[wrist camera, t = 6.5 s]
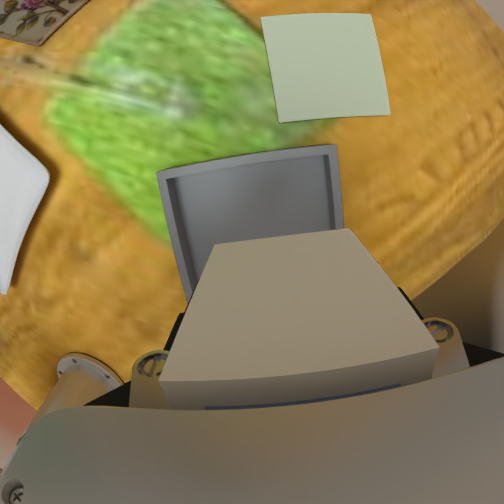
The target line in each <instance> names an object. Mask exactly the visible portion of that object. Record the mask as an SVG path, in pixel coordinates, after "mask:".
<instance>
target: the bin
mask: <svg viewBox="0 0 504 504" xmlns="http://www.w3.org/2000/svg"><path fill="white" fill-rule="evenodd" d="M156 175H157V180H158V185H159V189H160V194H161V199H162V203H163V208H164V212H165V217H166V221H167V225H168V230H169V234H170V238H171V242H172V246H173V250H174V254H175V258H176V262H177V266H178V270H179V274H180V277H181V281H182V285H183V289H184V292H185V296H186V299H187V303H189V300H190V298H191V295H192V293H193V291H194V289H195V286H196V284H197V282H198V280H199V279H200V277H201V275H202V273H203V270H204V268H205V266H206V263H207V261H208V259H209V256H210V254H211V252H212V250H213V247H214V245H215V244H222V243H230V242H238V241H246V240H254V239H262V238H270V237H278V236H286V235H295V234H303V233H311V232H320V231H328V230H337V229H344V219H343V206H342V194H341V183H340V173H339V163H338V155H337V146H336V144H321V145H311V146H302V147H293V148H285V149H277V150H270V151H262V152H255V153H249V154H242V155H236V156H230V157H224V158H218V159H213V160H207V161H202V162H197V163H191V164H186V165H182V166H177V167H172V168H167V169H164V170H161V171H158V172H156Z"/></svg>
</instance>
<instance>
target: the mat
mask: <svg viewBox="0 0 504 504" xmlns="http://www.w3.org/2000/svg"><path fill="white" fill-rule="evenodd" d="M260 20H261V25H262V30H263V35H264V41H265V46H266V51H267V57H268V62H269V68H270V73H271V79H272V85H273V91H274V96H275V103H276V109H277V115H278V121H279V123H285V122H293V121H303V120H313V119H325V118H338V117H355V116H383V115H391V114H390V107H389V100H388V93H387V87H386V81H385V76H384V70H383V65H382V60H381V55H380V51H379V46H378V42H377V37H376V33H375V29H374V25H373V21H372V18H371V14H356V13H309V14H291V15H278V16H268V17H260Z"/></svg>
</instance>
